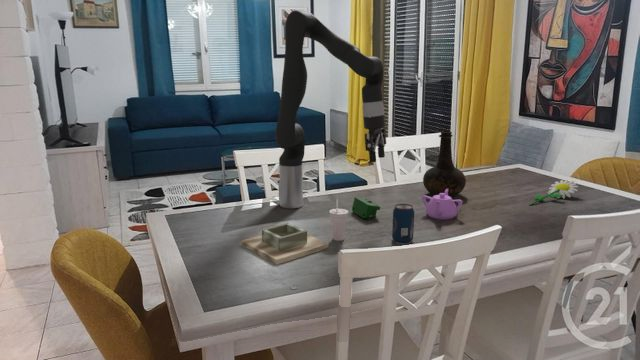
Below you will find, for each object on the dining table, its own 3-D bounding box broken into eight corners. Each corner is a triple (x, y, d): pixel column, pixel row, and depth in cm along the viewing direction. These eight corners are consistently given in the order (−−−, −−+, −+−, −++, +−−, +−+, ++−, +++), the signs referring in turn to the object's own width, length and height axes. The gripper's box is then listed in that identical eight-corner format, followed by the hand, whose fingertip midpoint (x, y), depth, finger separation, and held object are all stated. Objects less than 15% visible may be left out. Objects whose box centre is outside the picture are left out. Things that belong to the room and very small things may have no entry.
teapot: (446, 209, 201) (447, 187, 199) (464, 220, 188) (466, 197, 186) (418, 211, 198) (420, 190, 196) (436, 223, 185) (437, 200, 183)
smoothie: (328, 235, 173) (328, 196, 169) (346, 235, 173) (347, 195, 170) (330, 242, 167) (330, 201, 163) (349, 241, 167) (350, 201, 164)
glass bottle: (469, 193, 223) (474, 130, 216) (456, 203, 209) (461, 136, 202) (431, 187, 233) (434, 126, 226) (416, 196, 218) (419, 132, 211)
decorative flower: (544, 214, 201) (584, 193, 217) (544, 203, 200) (584, 182, 216) (516, 208, 212) (556, 188, 227) (515, 197, 210) (556, 177, 226)
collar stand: (241, 245, 165) (240, 229, 163) (291, 231, 177) (290, 216, 176) (277, 264, 150) (276, 247, 148) (328, 247, 162) (328, 231, 161)
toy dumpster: (373, 228, 193) (383, 209, 188) (360, 226, 190) (370, 208, 186) (363, 208, 202) (372, 190, 198) (350, 206, 199) (359, 188, 195)
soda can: (390, 236, 172) (392, 203, 169) (411, 237, 171) (413, 203, 168) (393, 244, 165) (394, 209, 162) (414, 244, 165) (416, 209, 162)
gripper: (371, 113, 187) (374, 156, 190) (355, 117, 174) (360, 163, 178) (390, 111, 183) (393, 155, 186) (376, 116, 171) (380, 163, 174)
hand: (377, 159), depth 182 cm, fingers open, 8 cm apart
